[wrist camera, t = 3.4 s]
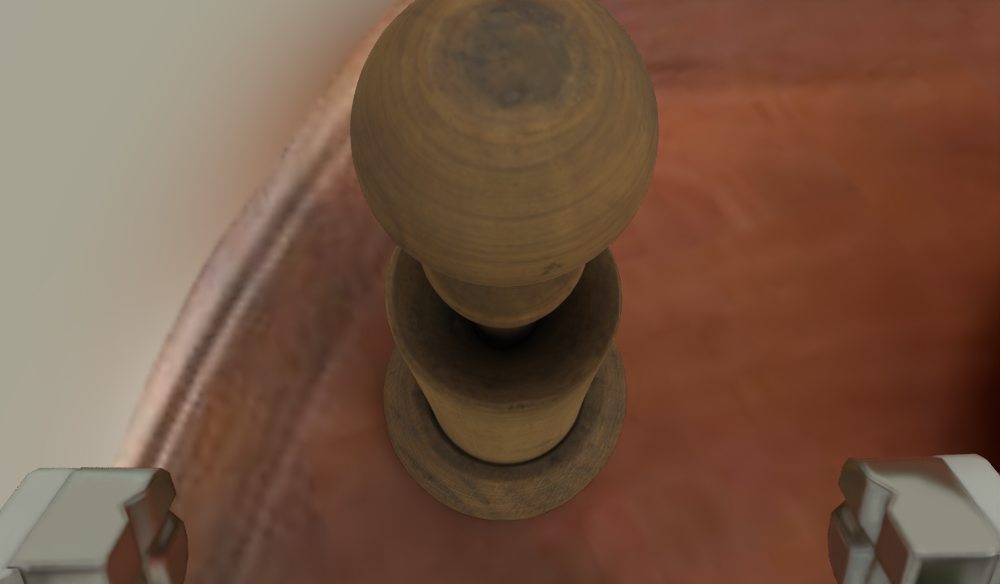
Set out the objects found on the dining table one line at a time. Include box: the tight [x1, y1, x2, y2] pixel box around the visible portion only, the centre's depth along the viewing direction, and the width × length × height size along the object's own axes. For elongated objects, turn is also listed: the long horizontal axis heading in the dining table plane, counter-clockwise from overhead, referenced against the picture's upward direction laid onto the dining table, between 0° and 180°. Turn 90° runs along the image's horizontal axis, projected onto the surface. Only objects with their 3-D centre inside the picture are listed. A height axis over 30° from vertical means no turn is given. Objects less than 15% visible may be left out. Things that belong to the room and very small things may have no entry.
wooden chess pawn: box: [350, 0, 659, 521], centre depth 16 cm, size 7×6×18 cm
